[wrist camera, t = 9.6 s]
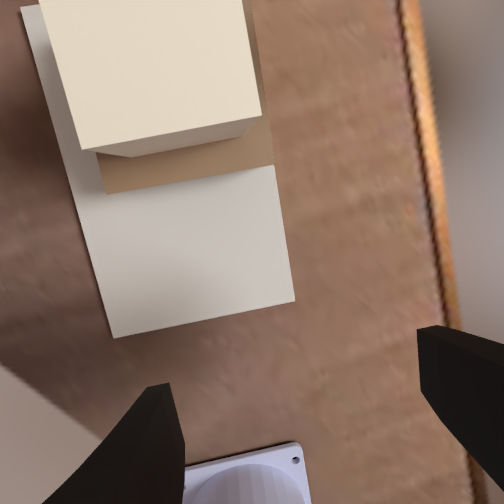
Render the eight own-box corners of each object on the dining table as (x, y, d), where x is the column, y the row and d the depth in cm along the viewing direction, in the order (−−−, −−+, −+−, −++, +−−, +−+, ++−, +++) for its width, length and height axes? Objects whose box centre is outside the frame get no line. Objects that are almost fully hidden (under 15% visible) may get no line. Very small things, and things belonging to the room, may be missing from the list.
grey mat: (293, 298, 21) (295, 301, 21) (115, 335, 20) (113, 338, 20) (243, -21, 18) (244, -25, 17) (24, 10, 17) (19, 7, 16)
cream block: (241, 136, 15) (261, 115, 9) (131, 157, 15) (81, 149, 9) (218, 14, 14) (225, -94, 8) (99, 34, 14) (20, -63, 8)
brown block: (263, 165, 19) (276, 164, 16) (125, 190, 19) (106, 194, 15) (239, 12, 17) (246, -26, 14) (87, 35, 17) (56, 2, 14)
